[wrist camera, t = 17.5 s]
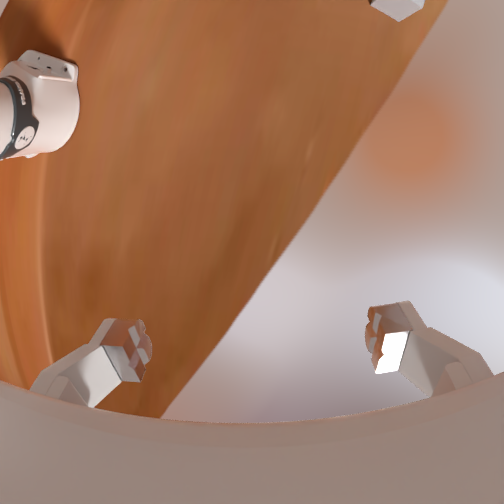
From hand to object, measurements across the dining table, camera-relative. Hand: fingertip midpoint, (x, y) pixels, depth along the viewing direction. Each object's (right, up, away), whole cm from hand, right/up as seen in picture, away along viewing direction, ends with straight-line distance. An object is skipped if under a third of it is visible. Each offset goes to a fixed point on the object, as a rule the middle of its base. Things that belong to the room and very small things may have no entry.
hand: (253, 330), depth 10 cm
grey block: (+21, +40, +18) cm, 48 cm away
